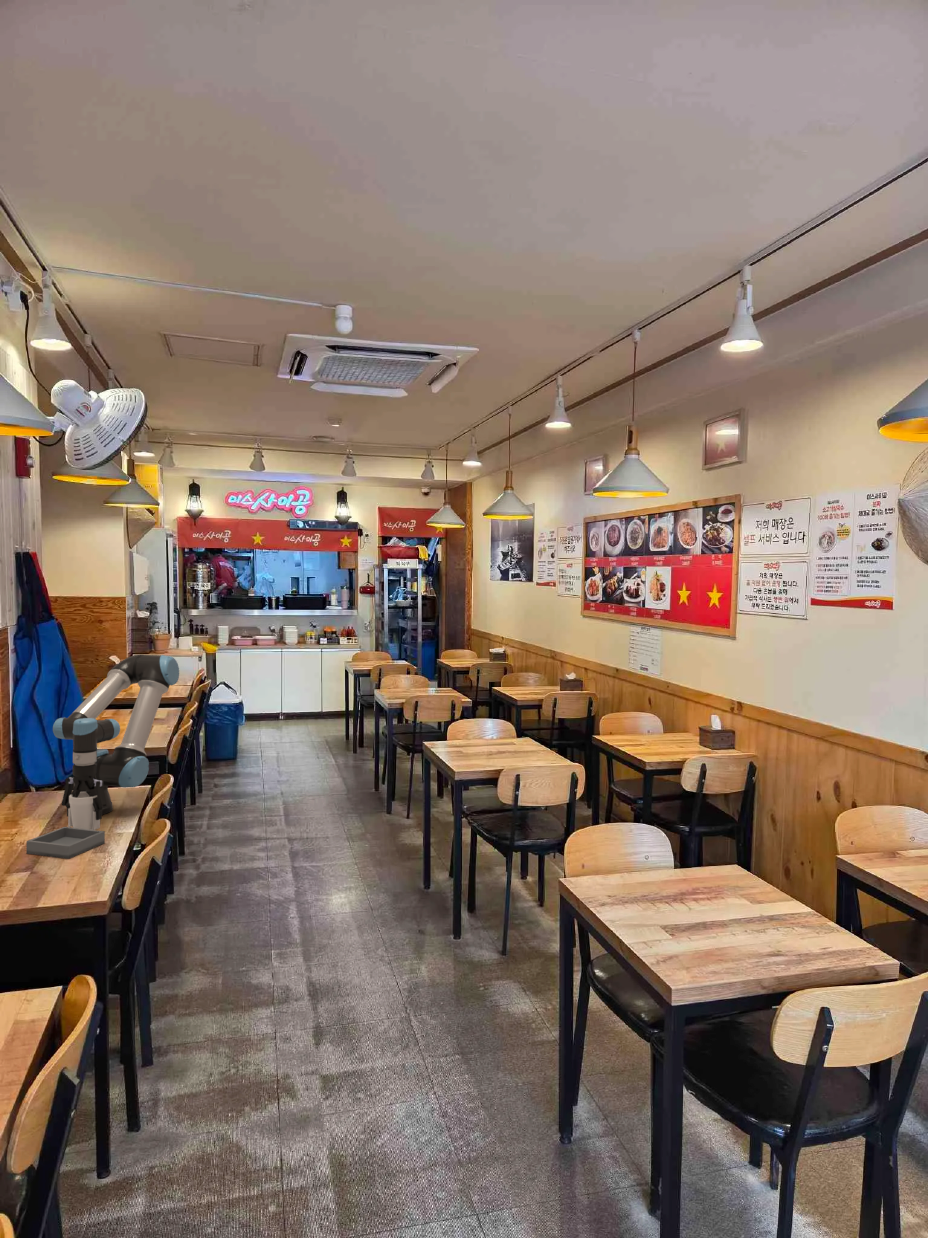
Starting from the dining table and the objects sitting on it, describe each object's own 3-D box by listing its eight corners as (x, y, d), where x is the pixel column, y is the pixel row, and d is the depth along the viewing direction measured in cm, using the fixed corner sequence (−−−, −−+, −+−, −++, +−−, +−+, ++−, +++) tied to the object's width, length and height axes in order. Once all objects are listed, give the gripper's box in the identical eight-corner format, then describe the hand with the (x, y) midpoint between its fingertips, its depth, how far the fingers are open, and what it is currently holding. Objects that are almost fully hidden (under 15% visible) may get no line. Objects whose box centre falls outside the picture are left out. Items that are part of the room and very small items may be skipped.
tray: (64, 838, 257) (64, 826, 257) (104, 843, 253) (104, 831, 253) (26, 853, 242) (26, 841, 242) (68, 859, 238) (68, 846, 238)
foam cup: (104, 830, 267) (105, 793, 267) (81, 837, 259) (82, 799, 258) (86, 826, 271) (86, 790, 271) (62, 833, 263) (63, 796, 262)
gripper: (50, 763, 263) (49, 827, 264) (104, 768, 258) (103, 833, 258) (66, 758, 270) (65, 821, 271) (119, 763, 265) (118, 827, 266)
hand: (84, 827), depth 265 cm, fingers closed on foam cup, 9 cm apart
